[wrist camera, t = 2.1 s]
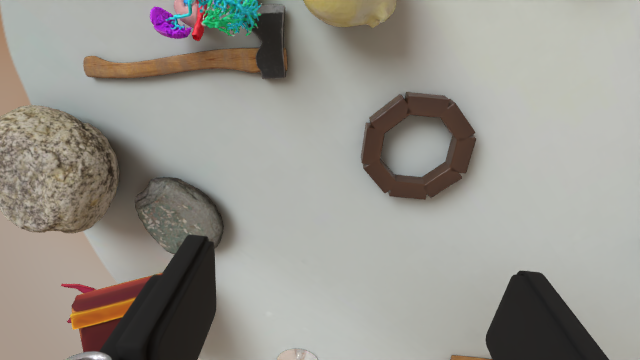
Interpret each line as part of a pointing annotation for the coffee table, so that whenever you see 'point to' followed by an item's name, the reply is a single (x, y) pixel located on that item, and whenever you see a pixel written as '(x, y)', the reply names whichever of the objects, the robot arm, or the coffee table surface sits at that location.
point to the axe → (212, 55)
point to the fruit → (351, 11)
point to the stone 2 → (177, 213)
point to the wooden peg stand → (466, 358)
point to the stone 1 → (54, 170)
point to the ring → (439, 176)
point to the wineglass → (296, 355)
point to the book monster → (102, 310)
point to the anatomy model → (204, 17)
